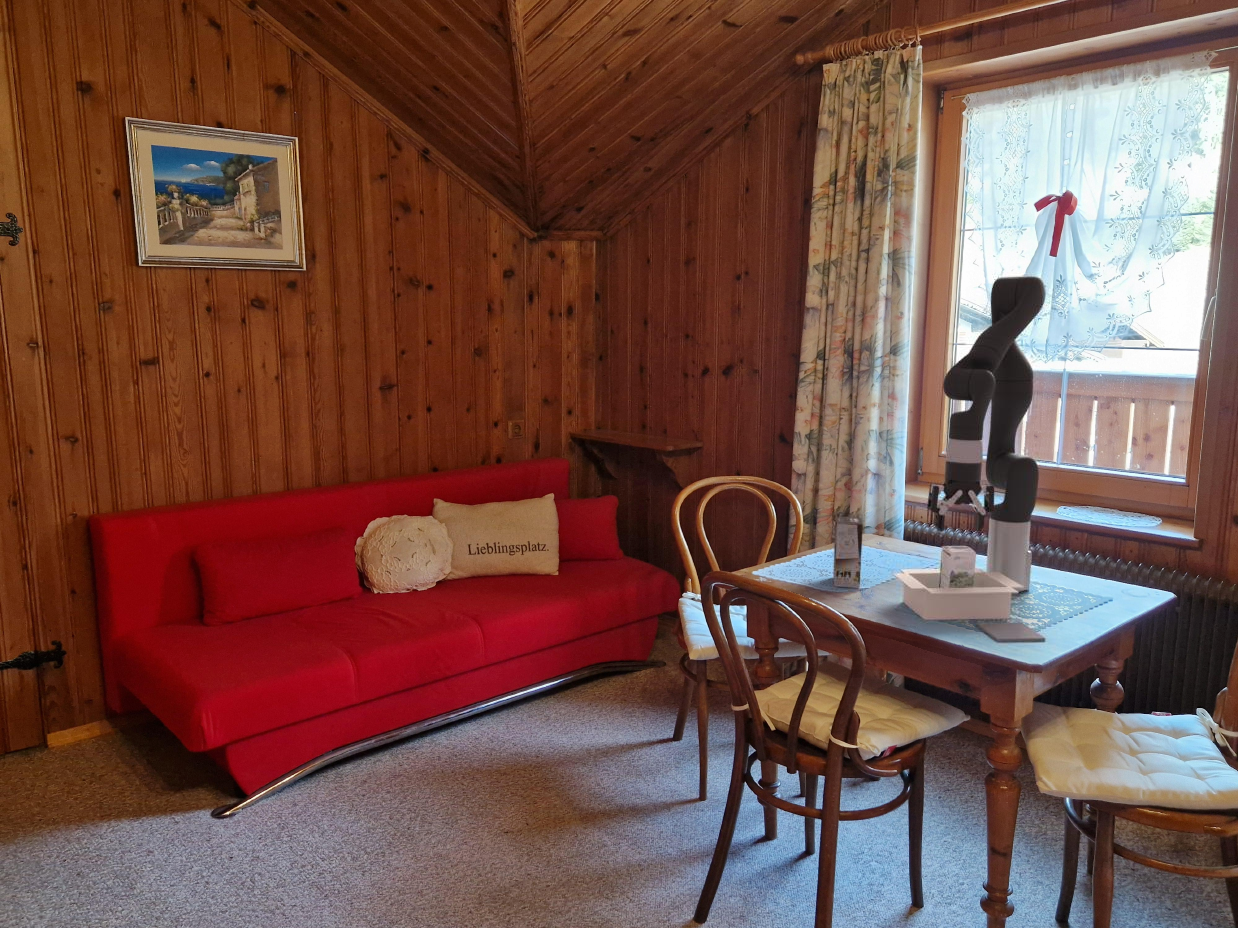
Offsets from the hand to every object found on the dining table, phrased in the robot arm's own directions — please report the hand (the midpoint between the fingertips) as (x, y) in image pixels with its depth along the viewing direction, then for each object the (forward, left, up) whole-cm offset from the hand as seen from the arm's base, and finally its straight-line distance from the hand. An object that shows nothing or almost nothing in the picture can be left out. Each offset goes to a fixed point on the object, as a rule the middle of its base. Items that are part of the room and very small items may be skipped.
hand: (958, 530), depth 205 cm
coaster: (-5, +16, -18) cm, 25 cm away
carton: (0, 0, -18) cm, 18 cm away
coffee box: (+18, -23, -19) cm, 35 cm away
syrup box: (0, 0, -19) cm, 19 cm away
